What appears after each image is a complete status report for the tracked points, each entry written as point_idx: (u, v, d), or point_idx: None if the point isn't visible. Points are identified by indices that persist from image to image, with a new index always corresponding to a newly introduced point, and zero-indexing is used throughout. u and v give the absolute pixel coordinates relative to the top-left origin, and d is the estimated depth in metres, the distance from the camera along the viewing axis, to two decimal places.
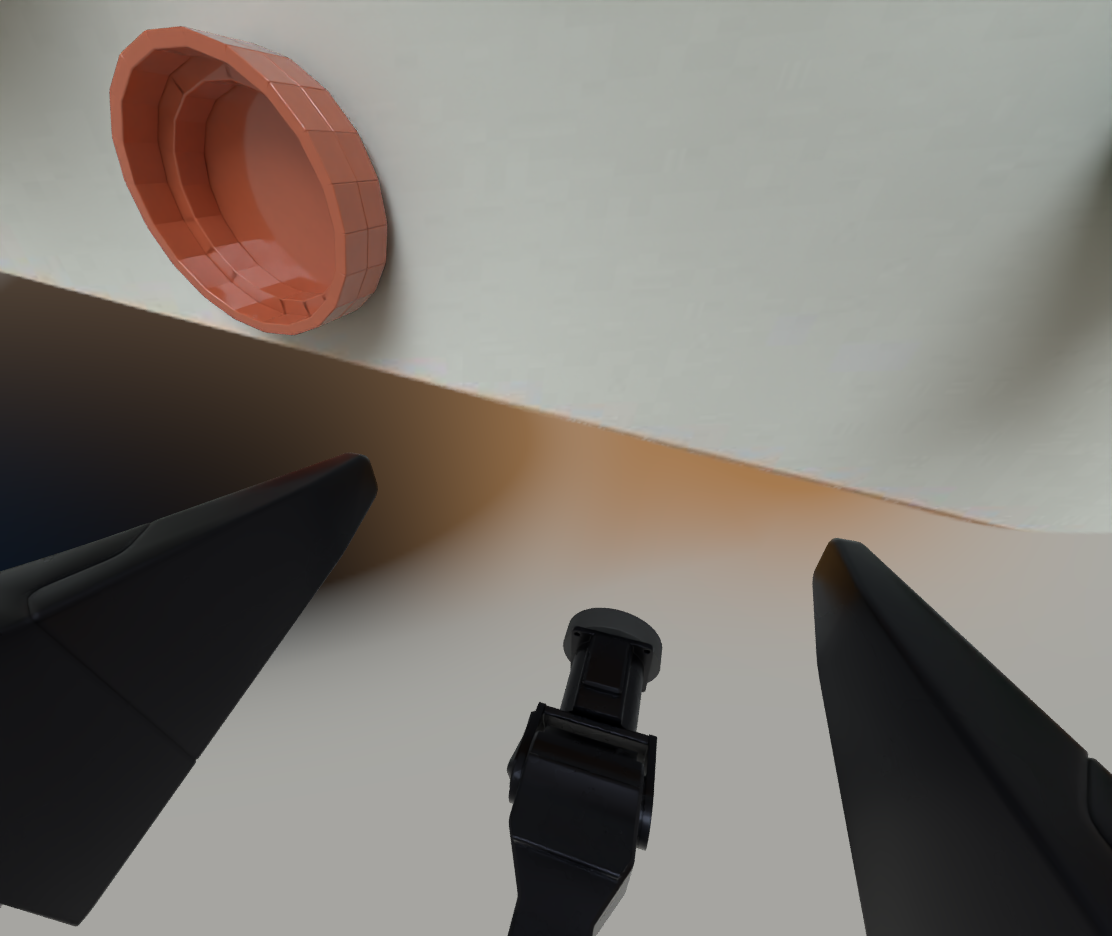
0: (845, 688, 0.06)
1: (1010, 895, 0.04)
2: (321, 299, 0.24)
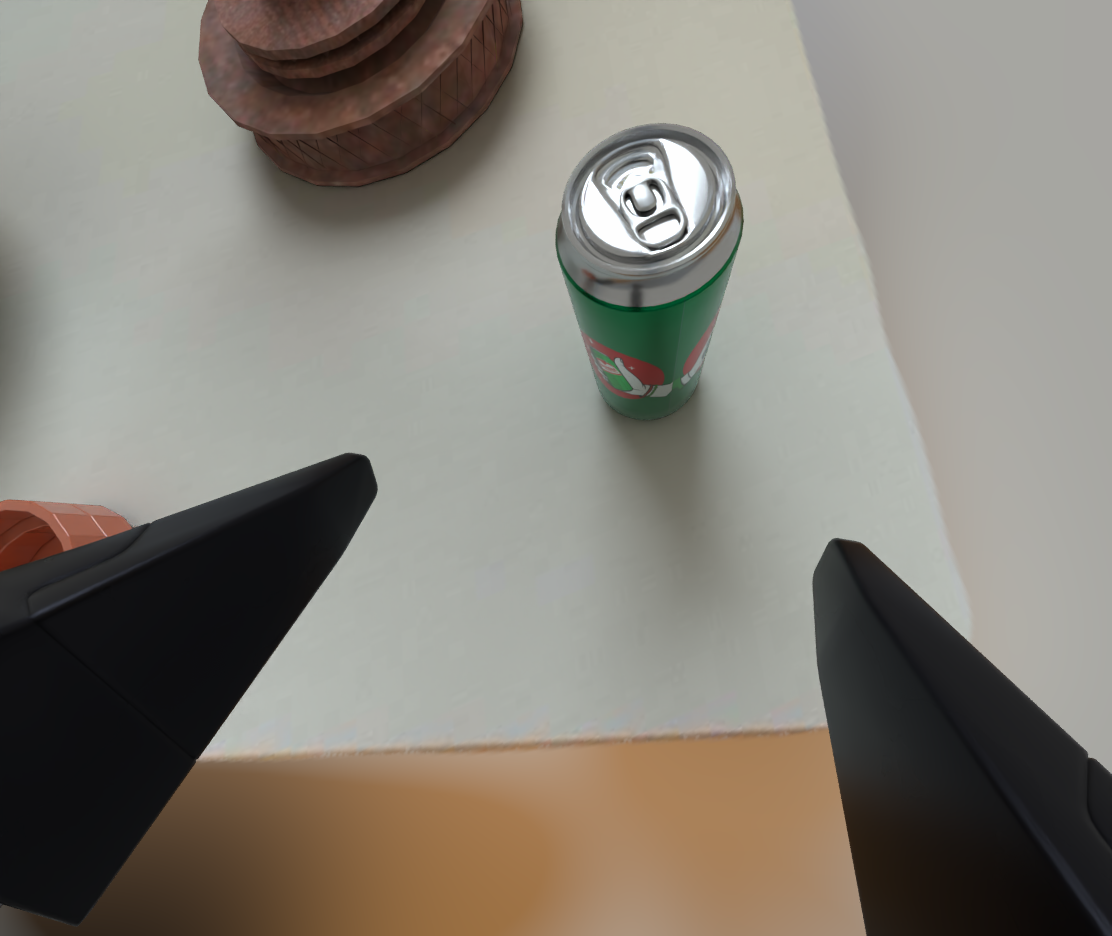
0: (845, 688, 0.06)
1: (1010, 895, 0.04)
2: None
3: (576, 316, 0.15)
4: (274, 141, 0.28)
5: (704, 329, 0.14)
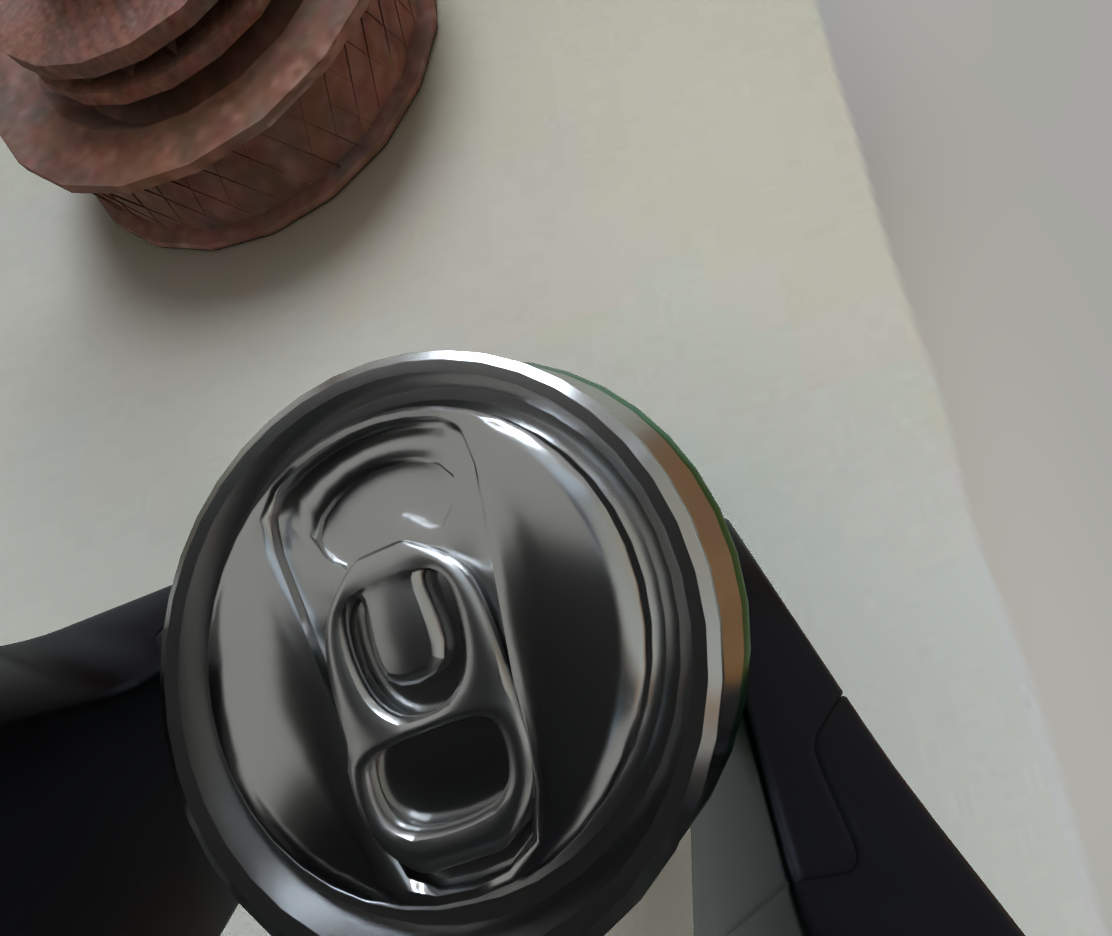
0: None
1: (744, 811, 0.04)
2: None
3: None
4: None
5: None
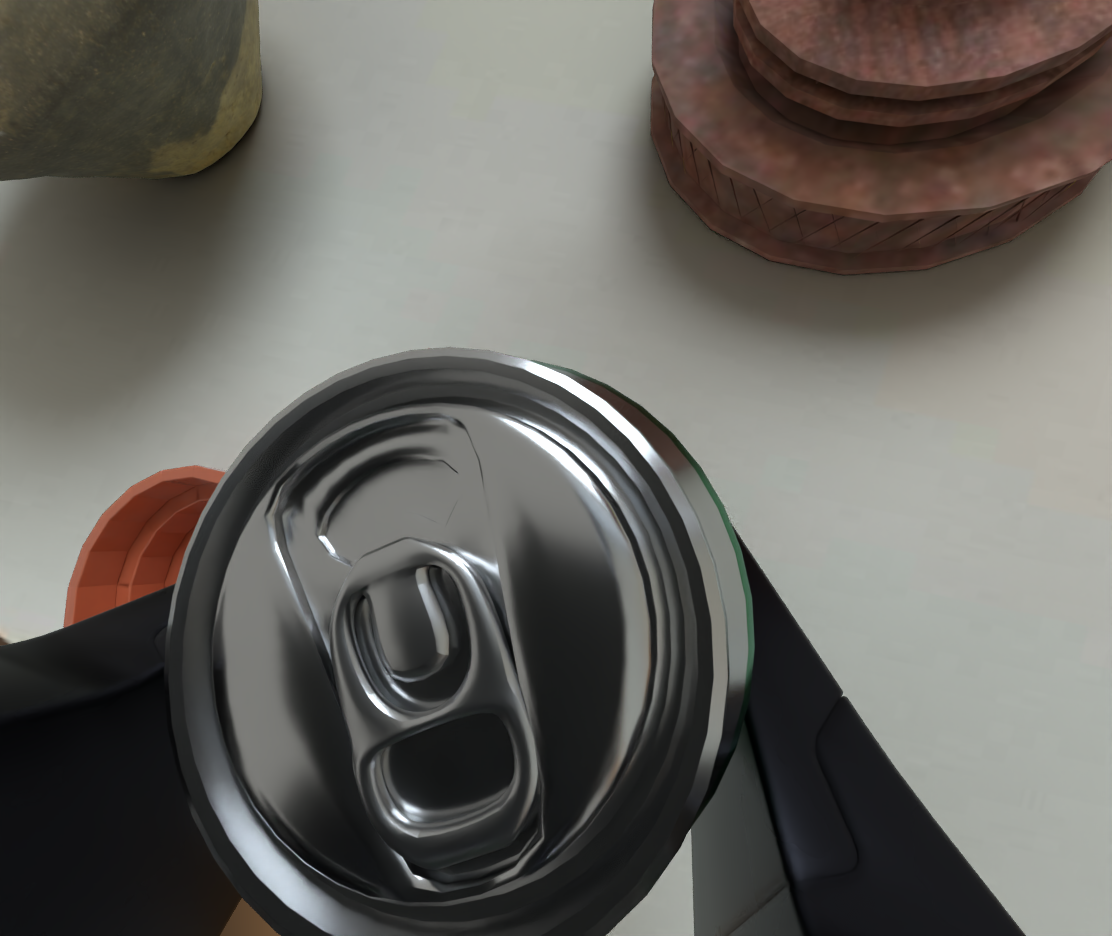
0: None
1: (745, 810, 0.04)
2: None
3: None
4: (694, 153, 0.21)
5: None
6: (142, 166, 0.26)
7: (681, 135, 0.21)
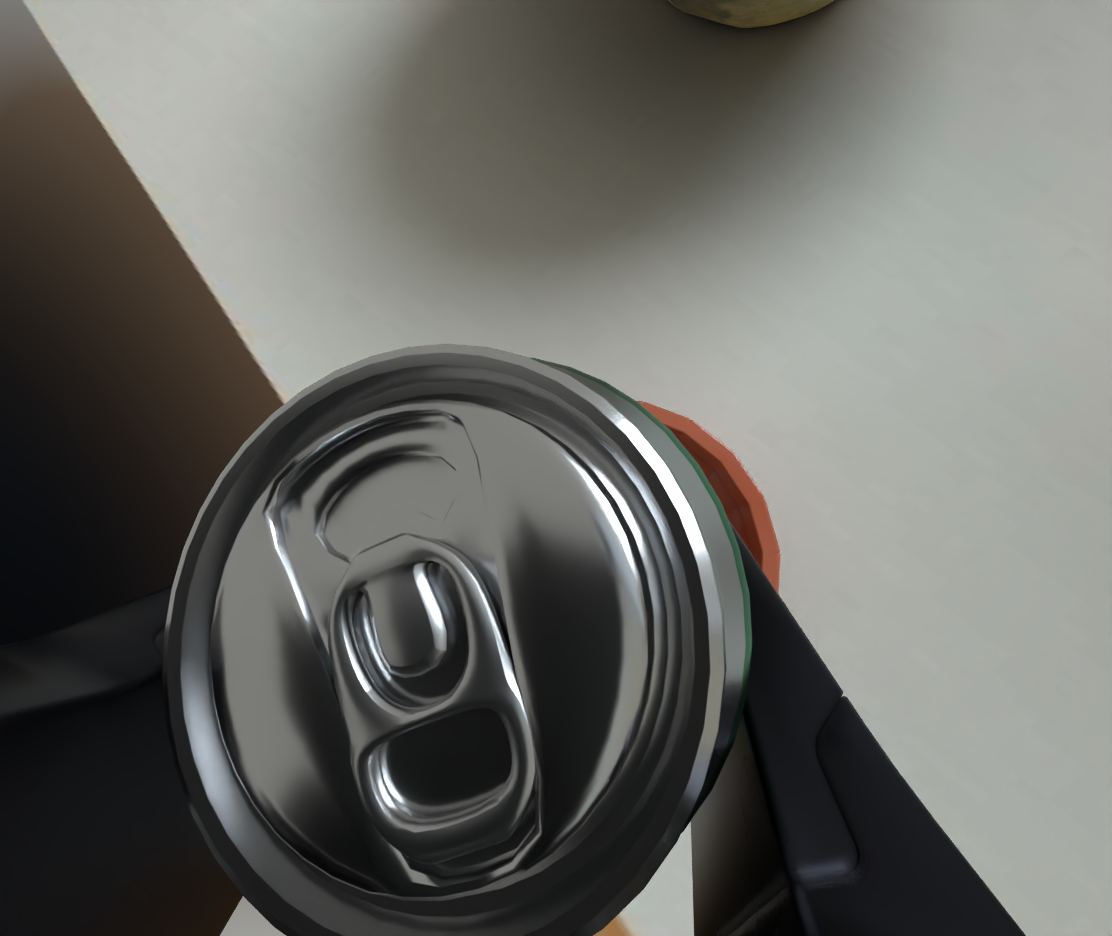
0: None
1: (745, 811, 0.04)
2: None
3: None
4: None
5: None
6: None
7: None
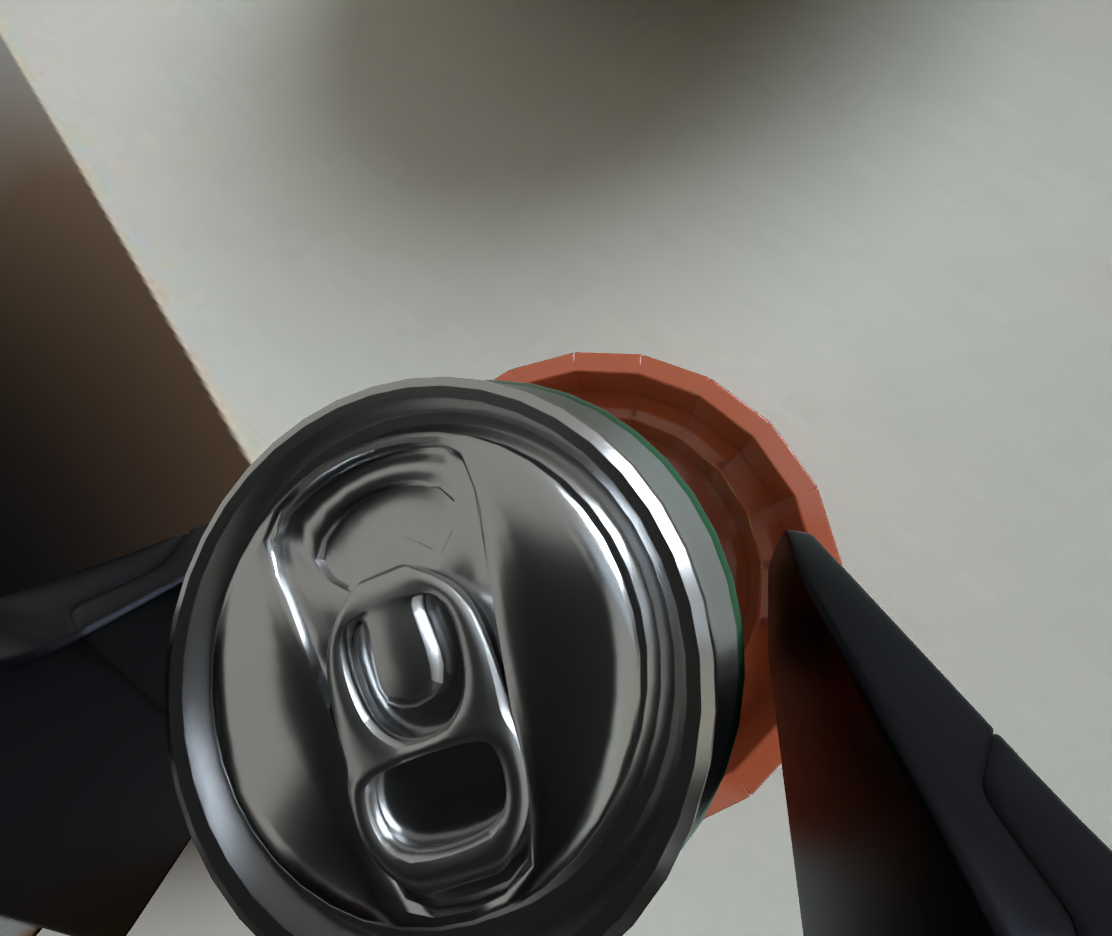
0: (788, 674, 0.06)
1: (906, 862, 0.04)
2: None
3: None
4: None
5: None
6: None
7: None
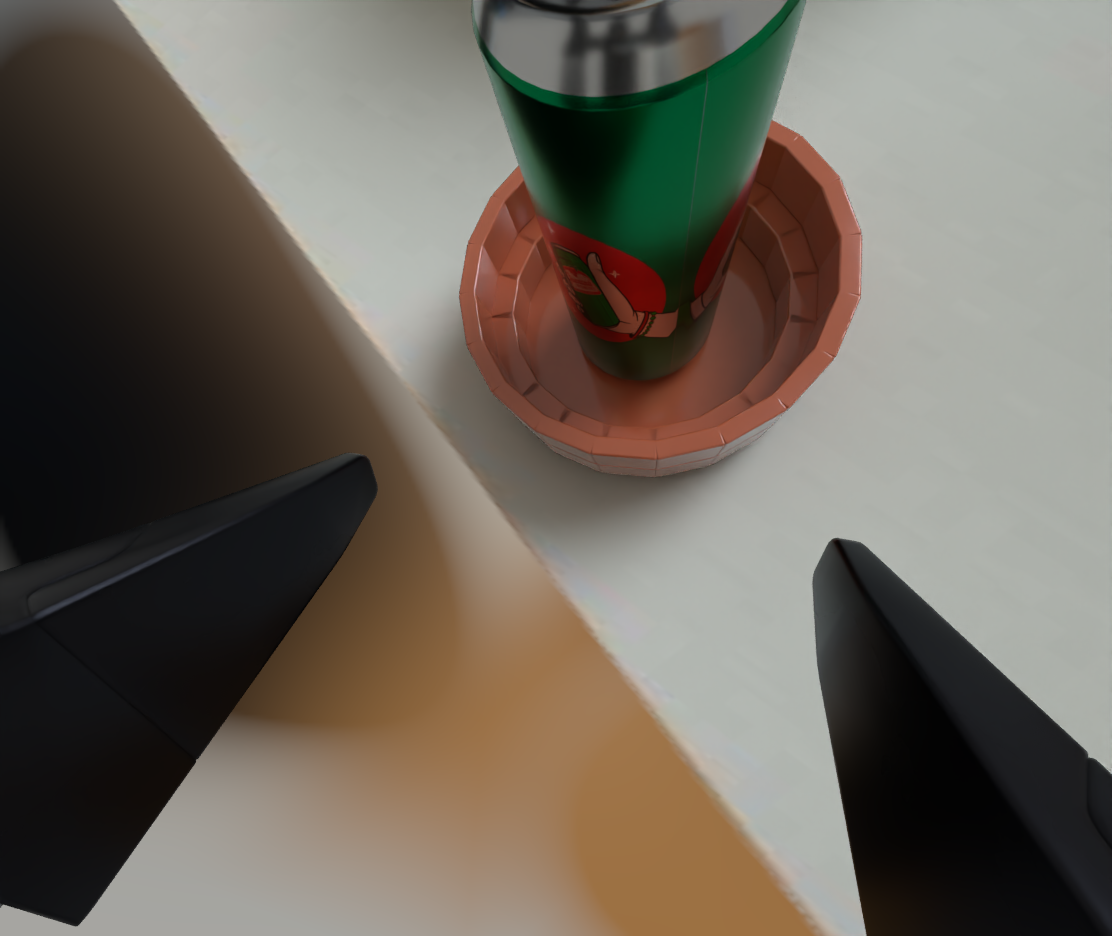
0: (845, 688, 0.06)
1: (1010, 895, 0.04)
2: (599, 428, 0.15)
3: (526, 185, 0.09)
4: None
5: (733, 195, 0.08)
6: None
7: None
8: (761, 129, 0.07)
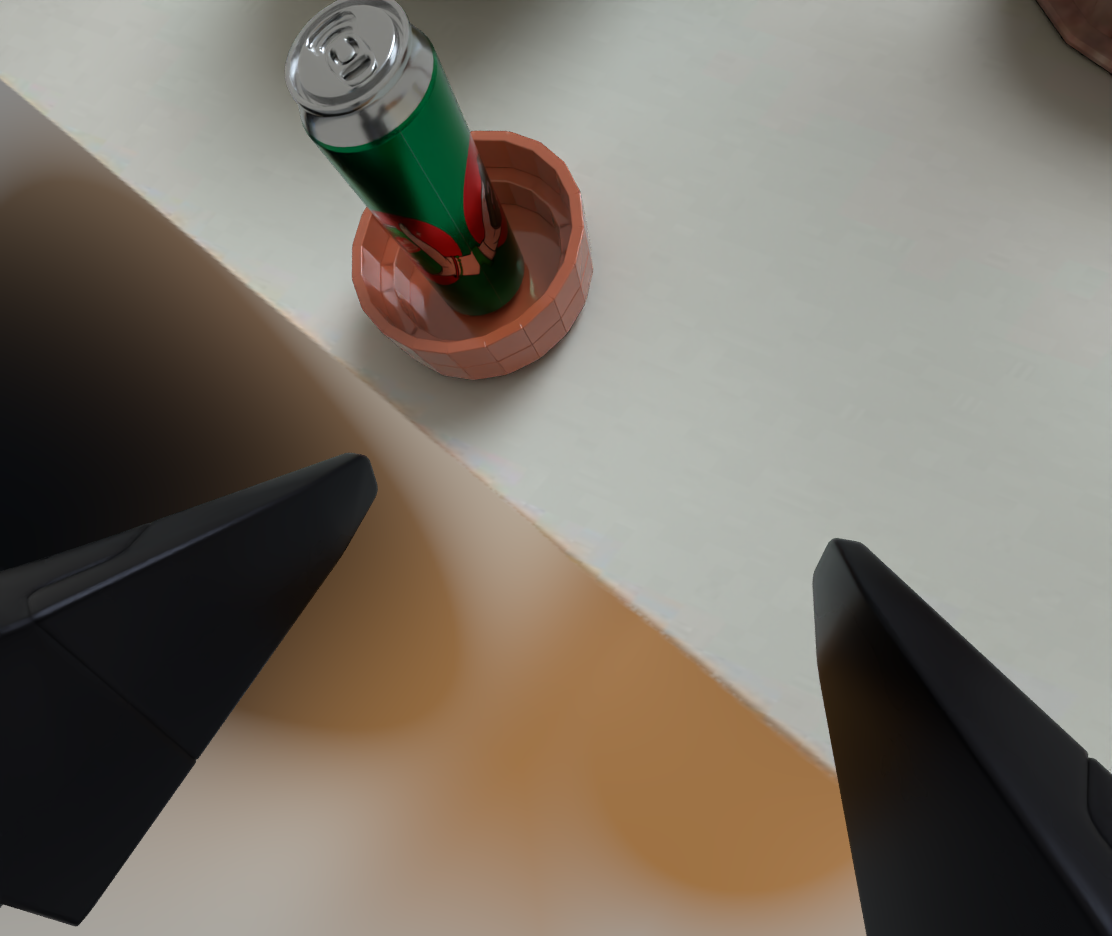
0: (845, 688, 0.06)
1: (1010, 895, 0.04)
2: None
3: None
4: None
5: (459, 179, 0.16)
6: None
7: None
8: (453, 146, 0.16)
